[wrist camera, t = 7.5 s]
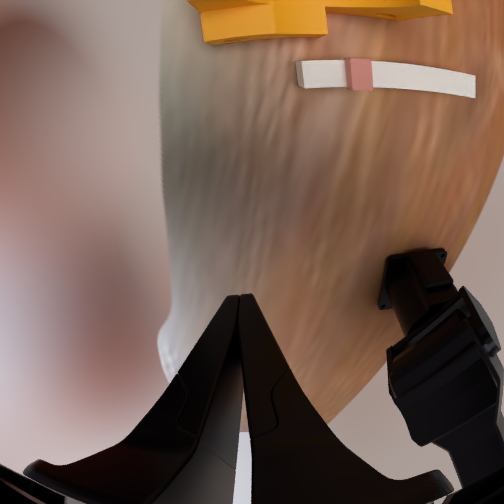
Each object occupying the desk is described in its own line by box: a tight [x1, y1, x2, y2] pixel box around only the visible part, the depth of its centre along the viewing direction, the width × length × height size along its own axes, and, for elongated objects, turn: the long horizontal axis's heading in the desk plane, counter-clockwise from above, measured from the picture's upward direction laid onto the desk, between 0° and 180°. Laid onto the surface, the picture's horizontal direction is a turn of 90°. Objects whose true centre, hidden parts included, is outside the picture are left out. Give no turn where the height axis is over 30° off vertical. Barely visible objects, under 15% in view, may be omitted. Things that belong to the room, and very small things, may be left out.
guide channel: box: [295, 58, 475, 98], centre depth 11 cm, size 9×12×3 cm
